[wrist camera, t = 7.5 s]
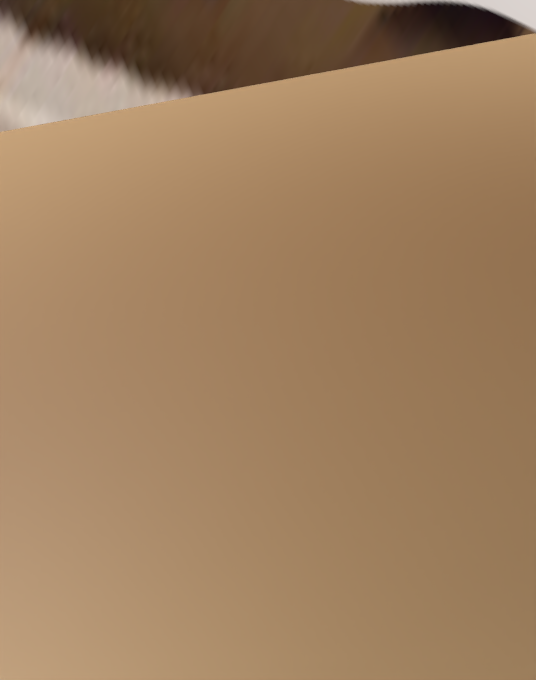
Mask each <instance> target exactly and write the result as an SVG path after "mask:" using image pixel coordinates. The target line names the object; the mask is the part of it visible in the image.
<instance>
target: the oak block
mask: <svg viewBox="0 0 536 680" xmlns="http://www.w3.org/2000/svg"><path fill="white" fill-rule="evenodd" d="M0 680H536V33H535V34H530V35H524V36H519V37H513V38H508V39H502V40H497V41H492V42H486V43H481V44H475V45H470V46H465V47H459V48H454V49H448V50H443V51H437V52H432V53H427V54H421V55H416V56H410V57H405V58H399V59H394V60H389V61H383V62H378V63H372V64H367V65H362V66H356V67H351V68H345V69H340V70H334V71H329V72H324V73H318V74H313V75H307V76H302V77H296V78H291V79H286V80H280V81H275V82H269V83H264V84H259V85H253V86H248V87H242V88H237V89H231V90H226V91H221V92H215V93H210V94H204V95H199V96H193V97H188V98H183V99H177V100H172V101H166V102H161V103H156V104H150V105H145V106H139V107H134V108H128V109H123V110H118V111H112V112H107V113H101V114H96V115H91V116H85V117H80V118H74V119H69V120H63V121H58V122H53V123H47V124H42V125H36V126H31V127H25V128H20V129H15V130H9V131H4V132H0Z"/></svg>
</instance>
